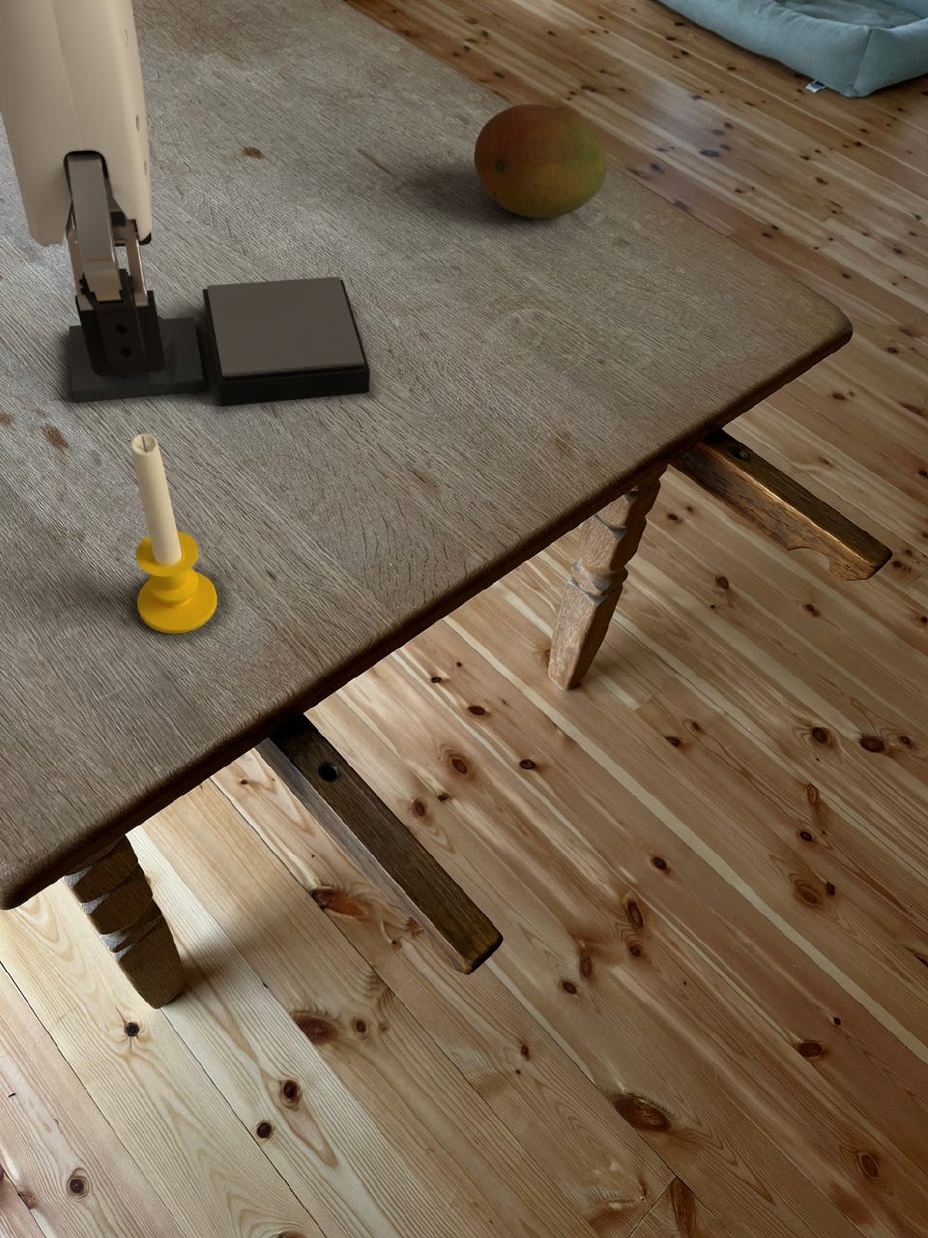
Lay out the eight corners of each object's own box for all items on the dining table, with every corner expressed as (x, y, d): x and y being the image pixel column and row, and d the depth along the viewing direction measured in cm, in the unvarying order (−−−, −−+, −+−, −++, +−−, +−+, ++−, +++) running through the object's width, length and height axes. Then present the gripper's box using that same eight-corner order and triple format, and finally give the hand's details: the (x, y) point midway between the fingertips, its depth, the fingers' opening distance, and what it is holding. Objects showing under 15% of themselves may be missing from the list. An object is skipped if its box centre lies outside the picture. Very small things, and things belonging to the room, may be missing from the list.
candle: (229, 616, 68) (205, 450, 56) (156, 645, 66) (113, 481, 54) (198, 563, 71) (168, 393, 58) (126, 590, 69) (79, 420, 56)
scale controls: (75, 403, 79) (66, 373, 76) (72, 337, 83) (64, 307, 81) (205, 391, 81) (201, 361, 79) (195, 327, 86) (191, 298, 83)
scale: (221, 406, 80) (217, 377, 78) (205, 312, 87) (201, 282, 84) (369, 392, 83) (370, 363, 80) (342, 302, 90) (343, 272, 87)
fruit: (451, 196, 101) (460, 96, 93) (540, 161, 107) (557, 64, 99) (529, 255, 97) (546, 155, 88) (619, 215, 102) (642, 118, 94)
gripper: (-66, -200, 39) (42, 205, 53) (-97, 6, 29) (45, 435, 43) (135, -194, 41) (188, 198, 54) (167, 4, 31) (222, 418, 45)
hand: (125, 302), depth 49 cm, fingers open, 9 cm apart
